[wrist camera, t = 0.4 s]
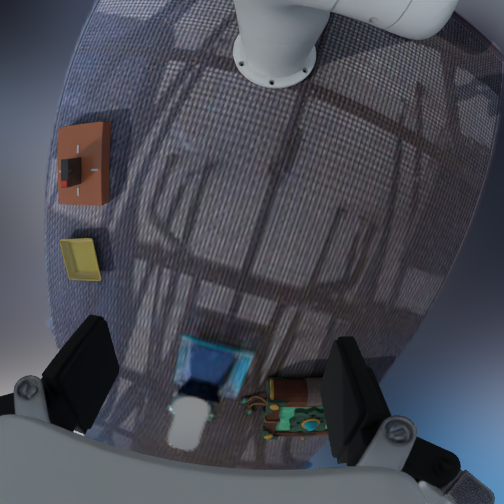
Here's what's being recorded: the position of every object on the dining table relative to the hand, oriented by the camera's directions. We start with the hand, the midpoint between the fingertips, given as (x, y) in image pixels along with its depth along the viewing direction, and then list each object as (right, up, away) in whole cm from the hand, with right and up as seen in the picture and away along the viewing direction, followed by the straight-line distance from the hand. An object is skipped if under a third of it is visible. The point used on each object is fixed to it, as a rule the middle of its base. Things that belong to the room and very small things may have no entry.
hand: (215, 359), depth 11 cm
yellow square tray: (-31, +3, +38) cm, 49 cm away
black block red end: (-28, +18, +29) cm, 44 cm away
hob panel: (-28, +20, +31) cm, 46 cm away
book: (+12, -31, +50) cm, 60 cm away
